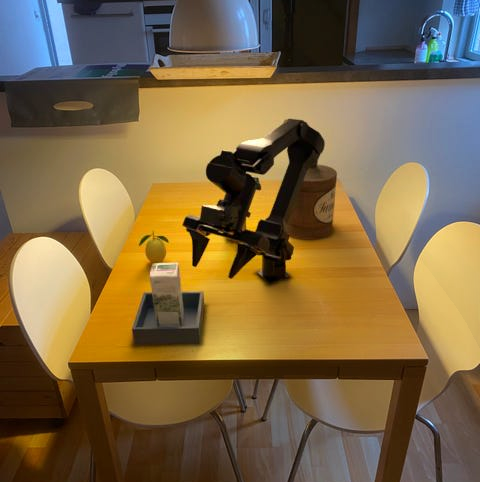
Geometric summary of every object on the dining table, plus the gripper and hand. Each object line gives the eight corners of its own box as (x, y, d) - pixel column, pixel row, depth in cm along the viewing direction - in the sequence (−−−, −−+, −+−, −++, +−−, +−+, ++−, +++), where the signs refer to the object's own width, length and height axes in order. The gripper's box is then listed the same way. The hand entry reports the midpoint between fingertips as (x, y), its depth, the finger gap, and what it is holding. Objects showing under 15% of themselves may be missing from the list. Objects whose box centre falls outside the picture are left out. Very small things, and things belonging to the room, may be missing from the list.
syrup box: (184, 315, 109) (179, 260, 101) (183, 331, 104) (176, 274, 96) (160, 316, 109) (152, 261, 101) (157, 332, 104) (148, 276, 96)
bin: (134, 344, 101) (131, 329, 98) (145, 307, 112) (143, 292, 110) (200, 343, 100) (198, 328, 98) (204, 306, 112) (203, 291, 110)
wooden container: (327, 242, 138) (334, 169, 126) (278, 236, 142) (280, 164, 130) (335, 221, 150) (341, 152, 138) (290, 216, 154) (292, 149, 142)
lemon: (142, 268, 128) (136, 235, 123) (148, 257, 133) (143, 225, 127) (166, 269, 127) (161, 236, 122) (171, 258, 132) (167, 226, 127)
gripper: (181, 178, 95) (154, 251, 95) (260, 196, 87) (231, 275, 86) (208, 198, 105) (184, 264, 105) (281, 216, 96) (256, 287, 96)
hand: (211, 272), depth 97 cm, fingers open, 9 cm apart
